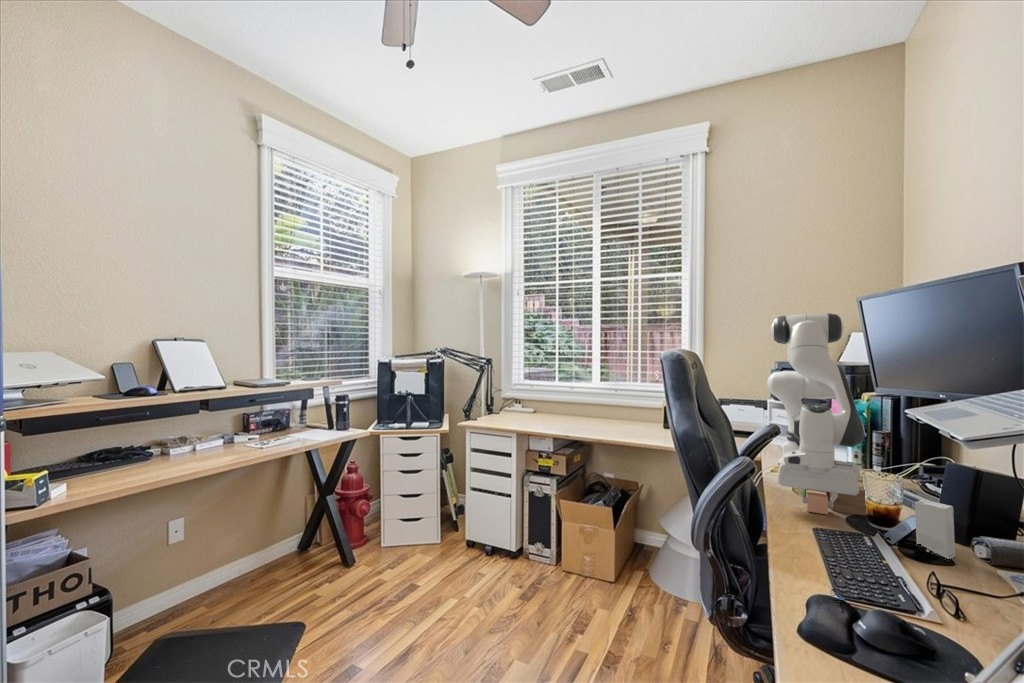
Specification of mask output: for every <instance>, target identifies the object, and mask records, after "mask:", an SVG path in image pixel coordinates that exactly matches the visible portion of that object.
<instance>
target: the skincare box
mask: <svg viewBox="0 0 1024 683" xmlns="http://www.w3.org/2000/svg"><path fill="white" fill-rule="evenodd" d="M914 513H915V514H914V515H915V536H916V540H915V541H916V545H917V544H921V545H923V546H924V547H926V548H927V549H929V550H931V551H933V552H934V553H937V554H939V555H941V556H943V557H945V558H947V559H951V558H952V559H954V558H955V557H956V548H955V547H956V544H955V542H956V541H955V522H954V521H955V518H954V506H952V505H949V504H946V503H945V504H944V503H940V502H935V501H933V500H926V499H923V498H921V499H919V500H917V501H915V502H914ZM953 557H954V558H953ZM952 559H951V560H952Z"/></svg>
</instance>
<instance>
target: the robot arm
mask: <svg viewBox="0 0 1024 683" xmlns="http://www.w3.org/2000/svg"><path fill="white" fill-rule="evenodd" d="M844 329H845V326H844V322H843V320H842V318H841V317H840V316H839V315H838V314H836V313H826V314H825V313H803V314H792V315H781V316H777V317H775V318H774V319H773V322H772V324H771V326H770V334H771V337H772V338H773V340H774V342H775V343H777V344H780V345H781V344H782V345H787V362H788V363H789V365H790V366H792V369H793V370H783V371H776V372H772V373H771V374H770V375H769V376H768V378H767V382H766V386H767V390H768V391H769V392H770V393H771V394H772V395H773V396H774V397H776V398H777V399H778V400H779V401H780V402H781V403H782V405H783V406H784V409H785V411H786V418H787V430H786V442H784V443H783V444H782V446H781V457H780V458H779V459H778V460H777V462H776V464H777V463H779V464H778V465H779V467H778V472H777V474H778V475H777V483H778V484H779V485H780V486H781V487H788V488H792V487H794V488H797V492H798V493H799V494H798V493H797V494H798V495H799V496H800V501H801V504H805V505H806V504H807V497H806V496H803V494H802V492H803V489H809V490H816V491H824V492H831V494H832V497H831V499H830V500H829V499H828V508H831V507H833V502H834V501H835V500H836V498H837V497H838V493H839V494H847V495H854V496H856V495H857V494H858V493H859V484H860V483H859V481H858V480H859V479H858V478H859V477H860V475H861V470H860V467H859V466H858V465H857V464H856V463H854V462H851V461H848V462H847V461H840V460H836V459H835V456H836V455H835V453H836V452H835V447H834V445H837V446H841V447H848V448H854V447H856V446H858V445H859V444H861V443H863V441H864V440H865V434H866V432H865V426H864V424H863V421H862V420H861V417H860V414H859V411H858V409H857V406H856V403H855V399H854V397H853V394H852V390H851V387H850V385H849V381H848V379H847V375H846V373H845V371H844V369H843V368H842V366H840V365H837V364H836V363H835V362H834V361H833V359H832V357H831V355H830V351H829V350H830V349H829V344H831V343H836V342H838V341H839V340H841V339H842V335H843V334H844V331H845V330H844ZM802 399H808V400H809V399H810V400H812V399H813V400H828V399H836V402H837V407H838V409H839V412H834V413H833V411H832V409H831V407H829V406H827V405H826V404H822V403H806V404H803V401H802ZM858 483H859V484H858Z"/></svg>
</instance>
